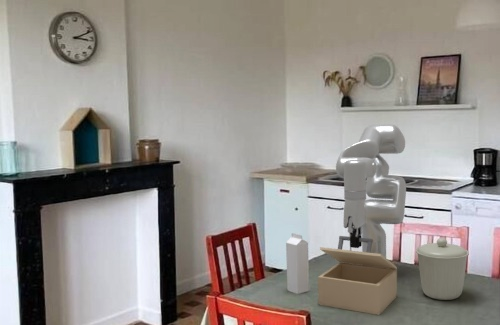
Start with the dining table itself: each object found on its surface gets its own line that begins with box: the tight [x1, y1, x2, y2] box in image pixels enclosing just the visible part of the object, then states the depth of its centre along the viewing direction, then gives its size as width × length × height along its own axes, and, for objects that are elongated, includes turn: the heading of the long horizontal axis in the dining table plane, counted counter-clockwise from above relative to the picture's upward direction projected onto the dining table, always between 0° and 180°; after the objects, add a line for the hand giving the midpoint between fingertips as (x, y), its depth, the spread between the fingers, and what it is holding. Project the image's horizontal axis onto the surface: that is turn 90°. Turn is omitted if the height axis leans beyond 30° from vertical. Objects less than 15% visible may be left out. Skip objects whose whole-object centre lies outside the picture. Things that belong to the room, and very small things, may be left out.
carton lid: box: [319, 235, 398, 270], centre depth 197 cm, size 20×22×6 cm
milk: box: [285, 232, 310, 295], centre depth 208 cm, size 6×6×22 cm
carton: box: [317, 262, 398, 316], centre depth 196 cm, size 20×22×10 cm
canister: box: [415, 237, 470, 301], centre depth 198 cm, size 18×18×21 cm
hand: (355, 246), depth 193 cm, fingers closed
